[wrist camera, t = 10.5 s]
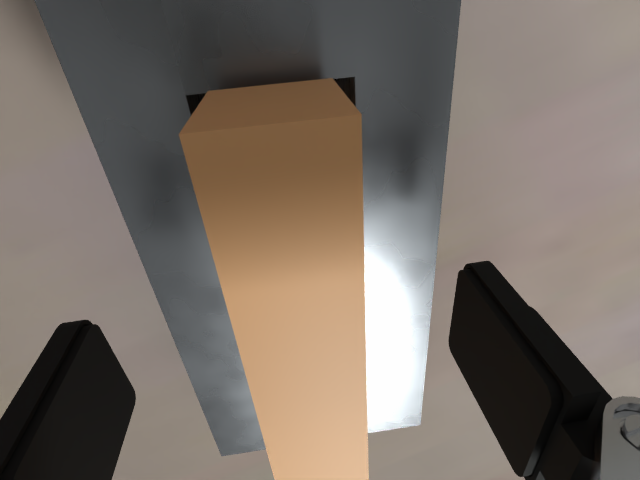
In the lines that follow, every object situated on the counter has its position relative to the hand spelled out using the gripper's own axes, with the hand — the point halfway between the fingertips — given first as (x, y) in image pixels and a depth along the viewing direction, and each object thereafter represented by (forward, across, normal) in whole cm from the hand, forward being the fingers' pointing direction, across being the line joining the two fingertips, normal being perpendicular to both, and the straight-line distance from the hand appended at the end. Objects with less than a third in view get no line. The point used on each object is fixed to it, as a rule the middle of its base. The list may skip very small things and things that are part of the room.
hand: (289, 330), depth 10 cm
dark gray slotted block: (+7, 0, 0) cm, 7 cm away
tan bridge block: (+7, 0, 0) cm, 7 cm away
